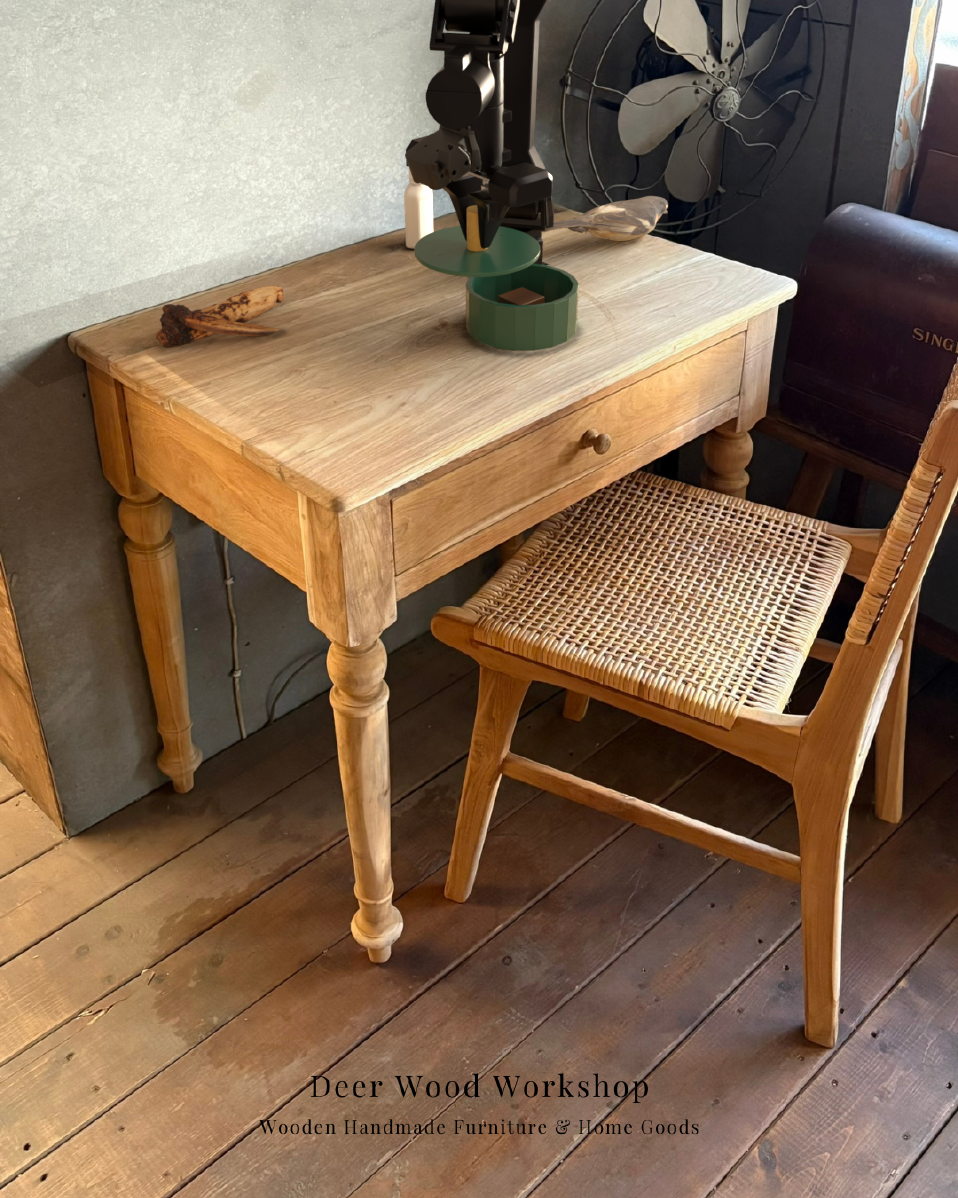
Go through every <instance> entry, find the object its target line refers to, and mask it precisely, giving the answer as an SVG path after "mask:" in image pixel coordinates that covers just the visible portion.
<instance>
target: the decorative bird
mask: <svg viewBox="0 0 958 1198" xmlns="http://www.w3.org/2000/svg"><path fill="white" fill-rule="evenodd" d="M668 207H669V203H668V200H666V199H665V198H663V197H660V196H655V195H647V196H643V197H639V198H635V199H628V200H627V199H626V200H619V201H613V202H609V203H606V204H603V205H599V206H596V207H594V208H592V209H590V210H588V211H586V212H584V213H582V214H581V215H580V216H577V217H574V218H572V219H567V220H561V221H554V226H553V227H550V228H547V229H546V231H542V233H548V232H550V231H554V230H560V229H568V230H570V231H572V232H576V233H579V234H583V233H584V234H585V235H586V234H588V233H589V234H590V235H592V236H593V237H596V238H599V239H605V240H609V241H614V242H615V241H616V242H617V241H618V242H627V241H631V240H634V239H638V238H642V237H644V236H646V235H648V234H649V233H651V232H652V231H654V229H655V227H656V225H657V222H659V220H660V219H661V217H662V215H663V214H668V210H667V209H668Z"/></svg>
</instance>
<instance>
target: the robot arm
mask: <svg viewBox="0 0 958 1198" xmlns="http://www.w3.org/2000/svg"><path fill="white" fill-rule="evenodd" d="M551 2H552V0H434V7H433V14H432V21H431V22H432V23H431V29H430V30H431V31H430V39H429V51H431V52H432V51H435V52H443V66H442V67H441V68H440V69H439V70H438V71H437V72H436V74H434V75H433V77H432V78H431V79H430V81H429V83H428V84H427V88H426V92H425V104H426V108H427V111H428V112H429V114H430V116H431V118H432V119H433V120H434V121H435V122H436V123H437V124H439V129H438V130H436V131H435V132H432V133H430V134H428V135H424V136H421V137H416V138H413V139H411V140H410V142H409V143H408V145H407V146H406V148H405V154H404V157H405V163H406V167H408V170H409V169H410V172H411V175H412V178H413V180H414V182H415V183H417V184H419V183H421V184H423V185H426V186H428V187H429V188H430V189H432V191H439V190H444V191H445V193H447V194H448V196H449V199H450V201H451V203H452V206H453V209H454V212H455V215H456V217H457V220H458V223H459V226H461V229H462V232H463V235H464V238H465V240H466V241H467V212H466V209H467V208H468V207H469V206H474V205H477V210H478V226H479V238H480V245H481V248H483V249H485V248H488V247H490V245H491V243H492V241H493V239H494V237H495V235H496V233H497V231H498V229H499V227H500V226H501V227H507V228H511V229H515V230H518V231H521V232H524V233H526V234H528V235H530V236H531V237H533V238H534V239H535V240H536V241H537V242H538V243H539V245H540V256H539V258H538V259H537V260H536V261H535V262H534V264H542V265H548V266H550V264H549V263H547V262H545V261H543V256H544V255H543V253H544V252H543V250H544V239H543V238H542V236H543V232H542V231H546V229H547V228H550V227H553V226H554V222H555V207H554V199H553V177H554V176H553V175H552V174H551V173H550V172H549V171H548V169H546V166H545V164H544V162H543V160H542V158H541V157H540V154H539V152H538V151H537V149H536V147H535V131H536V111H537V109H536V108H537V87H538V67H539V64H538V63H539V46H540V45H539V42H540V22H541V18H542V17H543V15H544V14H545V12H546V10H547V9H548V7H549V5H550V4H551ZM444 30H445V31H446V32H444Z"/></svg>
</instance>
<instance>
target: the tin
mask: <svg viewBox="0 0 958 1198" xmlns="http://www.w3.org/2000/svg"><path fill="white" fill-rule="evenodd" d="M521 287H523V288H525V289H528V290H530V291H532V292H535V293H537V294H539V295H541V296H544V297H545V298H544V303H542V304H536V305H512V304H504V303H498V296H499V295H502V294H504V293H507V292H510V291H513V290H516V289H518V288H521ZM579 291H580V283H579V282H578V280H577V279H576V277H575V276H574V275H573V274H571V273H569V272H568V271H566V270H564V269H562V268H558V267H554V266H551V265H549V266H548V265H542V264H534V263H533V264H532V265H530V266H529V267H527V268H525V269H522V270H520V271H516V272H513V273H509V274H505V275H499V276H490V277H467V281H466V282H465V329H466V331H467V333H468V335H469V336H470V337H471V338H472V339H474V340H475V341H476V342H478V343H480V344H483V345H485V346H488V347H491V348H493V349H498V350H506V351H511V352H530V351H531V352H534V351H539V350H540V351H541V350H546V349H552V348H555V347H557V346H559V345H562V344H565V343H567V342H568V341H569V340H571V338H573V337H574V336H575V335H576V332H577V326H578V310H579V309H578V308H579V293H580V292H579Z"/></svg>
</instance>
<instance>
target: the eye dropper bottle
mask: <svg viewBox="0 0 958 1198" xmlns="http://www.w3.org/2000/svg"><path fill="white" fill-rule="evenodd" d="M408 182H409V183H408V184H407V186H406V188H405V190H404V194H403V199H404V200H403V201H404V202H403V203H404V204H403V205H404V206H403V207H404V231H405V246H406V248H408V249H412V250H414V249H415V245H416V243H417V242H418V241H419V240H420V239H421V238H422V237H424V236H426V235H428V234H430V233H432V232H434V199H433V196H434V195H433V190H432V189H430V188H429V187H428V186H426V185H423V184H421V183H419V184H417V183H415V182H414V180H413V178H412V175H411V172H410V169H409V168H408Z"/></svg>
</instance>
